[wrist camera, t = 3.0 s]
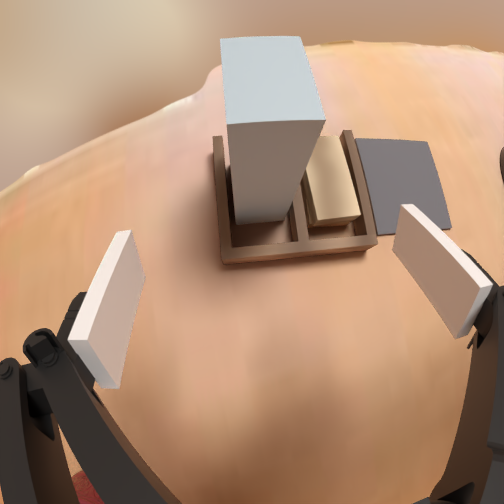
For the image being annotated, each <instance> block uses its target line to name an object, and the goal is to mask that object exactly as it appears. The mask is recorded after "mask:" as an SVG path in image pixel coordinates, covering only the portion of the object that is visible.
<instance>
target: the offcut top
mask: <svg viewBox="0 0 504 504" xmlns="http://www.w3.org/2000/svg"><path fill="white" fill-rule="evenodd" d="M302 178H303V182H304V186H305V191H306V195H307V200H308V204H309V209H310V214H311V218H312V223H313V226H316V225H324V224H331V223H339V222H346V221H354V220H355V219H356V218H357V217H359V216H360V215H361V214H360V210H359V206H358V202H357V198H356V194H355V190H354V187H353V183H352V179H351V176H350V172H349V169H348V165H347V162H346V158H345V155H344V152H343V149H342V145H341V142H340V139H339V136H320V137H319V138H318V140H317V143H316V145H315V148H314V150H313V152H312V155H311V157H310V160H309V162H308V165H307V167H306V169H305V172H304V174H303V177H302Z"/></svg>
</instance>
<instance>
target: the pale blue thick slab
mask: <svg viewBox="0 0 504 504" xmlns="http://www.w3.org/2000/svg"><path fill="white" fill-rule="evenodd" d="M220 46H221V59H222V73H223V86H224V98H225V111H226V123H227V134H228V145H229V156H230V167H231V178H232V188H233V199H234V209H235V219H236V225H240V224H250V223H261V222H272V221H283V220H285V217H286V215H287V213H288V210H289V208H290V205H291V203H292V201H293V198H294V196H295V194H296V191H297V189H298V186H299V184H300V182H301V179H302V177H303V174H304V172H305V169H306V167H307V165H308V162H309V160H310V157H311V155H312V152H313V150H314V148H315V145H316V143H317V140H318V138H319V135H320V133H321V130H322V128H323V125H324V123H325V121H326V119H325V115H324V111H323V108H322V104H321V101H320V97H319V94H318V90H317V87H316V84H315V81H314V77H313V74H312V71H311V68H310V65H309V62H308V59H307V55H306V52H305V50H304V47H303V44H302V41H301V38H300V37H298V36H258V37H237V38H224V39H220Z"/></svg>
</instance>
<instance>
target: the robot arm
mask: <svg viewBox="0 0 504 504" xmlns="http://www.w3.org/2000/svg"><path fill="white" fill-rule="evenodd" d="M500 163H501V171H502V175H503V179H504V147H503V149H502V151H501V157H500ZM392 251H393V252H394V253H395V254H396V256H397V257H398V258H399V260H400V261H401V262H402V264H403V265H404V266H405V268H406V269H407V270H408V272H409V273H410V274H411V276H412V277H413V278H414V280H415V281H416V282H417V284H418V285H419V287H420V288H421V289H422V291H423V292H424V293H425V295H426V296H427V298H428V299H429V301H430V302H431V303H432V305H433V306H434V308H435V309H436V311H437V312H438V314H439V315H440V317H441V318H442V320H443V321H444V323H445V324H446V326H447V327H448V329H449V330H450V332H451V334H452V335H453V337H454V338H455V339H457V338H460V337H463V336H466V335H468V333H469V332H470V330H471V328H472V326H473V325H474V326H475V327H476V329H477V331H476V332H475V334H474V336H473V338H472V339H471V341H470V343H469V344H468V347H467V349H469V348H470V347H471V345H472V344H473V349H472V358H471V365H470V372H469V378H468V384H467V389H466V395H465V400H464V404H463V409H462V413H461V418H460V422H459V426H458V430H457V433H456V437H455V441H454V444H453V448H452V451H451V454H450V457H449V461H448V464H447V467H446V469H445V472H444V475H443V476H442V478H441V480H440V481H439V482H438V483H437V485H436V486H435V488H434V489H433V491H432V493H431V495H430V497H427V498H424V499H422V500H420V501H418V502H415V503H413V504H504V286H500V287H499V285H498V284H497V283H496V282H495V281H494V280H493V279H492V278H491V276H490V275H489V274H488V273H487V272H486V271H485V270H484V269H482V267H481V266H480V264H479V263H477V261H476V260H475V259H474V258H473V257H472V256H471V255H470V254H468V253H467V252H465V251H464V250H462V249H460V248H459V247H458V246H457V245H456V244H455V243H454V242H453V241H452V240H451V239H450V238H449V237H448V236H447V235H446V234H445V233H444V232H443V231H442V230H441V229H440V228H439V227H437V226H436V225H435V224H434V223H433V222H432V221H431V220H430V219H429V218H428V217H427V216H426V215H425V214H423V213H422V212H421V211H420V210H419V209H418V208H417V207H416V206H415V205H413V204H402V205H401V207H400V212H399V218H398V224H397V229H396V234H395V239H394V244H393V249H392ZM145 278H146V276H145V273H144V270H143V267H142V264H141V261H140V257H139V254H138V251H137V247H136V244H135V240H134V237H133V233H132V230H127V231H120V232H117V233H116V234H115V236H114V238H113V240H112V242H111V244H110V246H109V248H108V250H107V252H106V254H105V256H104V258H103V260H102V262H101V264H100V266H99V268H98V270H97V272H96V274H95V277H94V279H93V281H92V283H91V285H90V287H89V290H88V292H80V293H79V294H78V295H77V296H76V297H75V298H74V299H73V300H72V302H71V304H70V306H69V309H68V312H67V313H66V315H65V320H63V322H62V324H61V327H60V329H59V331H58V334H57V336H55V335H54V333H53V332H52V331H51V330H50V329H47V328H42V329H38V330H36V331H34V332H33V333H31V334H30V335H29V336H28V337H27V339H26V340H25V342H24V345H23V353H24V354H25V355H26V357H27V358H28V359H29V361H30V362H31V363H29V364H26V365H22V366H21V365H20V364H19V363H18V361H17V360H16V359H14V358H6V359H4V360H3V361H1V362H0V486H1V491H2V496H3V501H4V504H80V502H79V500H78V497H77V494H76V491H75V488H74V485H73V481H72V478H71V475H70V472H69V468H68V464H67V461H66V457H65V453H64V449H63V445H62V441H61V436H60V432H59V427H58V424H59V426H60V428H61V430H62V432H63V434H64V436H65V438H66V440H67V442H68V444H69V446H70V448H71V450H72V452H73V454H74V455H75V457H76V459H77V461H78V462H79V464H80V466H81V468H82V469H83V471H84V473H85V474H86V476H87V478H88V479H89V481H90V482H91V484H92V486H93V487H94V489H95V490H96V492H97V493H98V495H99V496H100V498H101V499H102V501H103V502H104V504H182V503H181V502H180V501H179V500H178V499H177V498H176V497H175V496H174V495H173V494H172V493H171V492H170V490H169V489H168V488H167V487H166V486H165V485H164V484H163V483H162V482H161V480H160V479H159V478H158V477H157V476H156V475H155V473H154V472H153V471H152V470H151V469H150V467H149V466H148V465H147V464H146V463H145V461H144V460H143V459H142V458H141V456H140V455H139V454H138V452H137V451H136V450H135V449H134V447H133V446H132V445H131V443H130V442H129V441H128V439H127V438H126V436H125V435H124V434H123V432H122V431H121V429H120V428H119V427H118V425H117V424H116V422H115V421H114V419H113V418H112V416H111V415H110V413H109V412H108V410H107V409H106V407H105V406H104V404H103V403H102V401H101V399H100V398H99V396H98V395H97V393H96V392H95V390H94V389H93V386H94V382H95V380H96V382H97V383H98V384H99V386H100V387H101V388H111V389H119V388H120V383H121V378H122V373H123V368H124V363H125V358H126V354H127V349H128V345H129V340H130V336H131V332H132V328H133V323H134V319H135V315H136V311H137V307H138V304H139V300H140V296H141V292H142V288H143V285H144V281H145Z"/></svg>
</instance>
